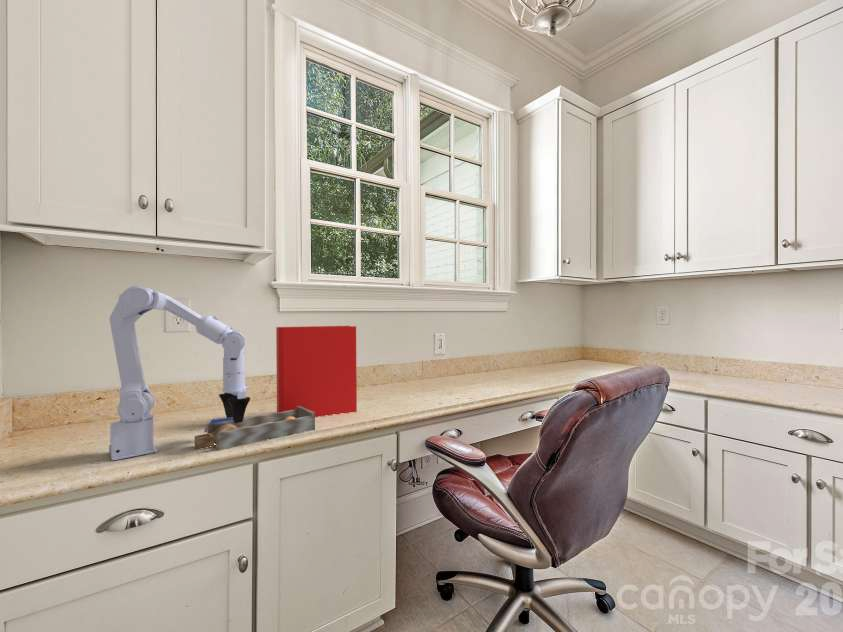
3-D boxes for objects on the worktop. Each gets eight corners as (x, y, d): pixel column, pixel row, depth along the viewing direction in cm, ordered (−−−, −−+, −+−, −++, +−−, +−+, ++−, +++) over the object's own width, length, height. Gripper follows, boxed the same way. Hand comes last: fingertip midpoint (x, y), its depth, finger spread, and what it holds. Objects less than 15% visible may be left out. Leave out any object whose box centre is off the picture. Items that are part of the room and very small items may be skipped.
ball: (296, 415, 124) (300, 426, 125) (291, 413, 127) (295, 423, 128) (285, 421, 121) (289, 433, 122) (280, 419, 124) (284, 430, 125)
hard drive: (211, 419, 133) (206, 429, 122) (237, 416, 136) (235, 426, 125) (211, 423, 133) (206, 434, 122) (237, 421, 136) (235, 431, 125)
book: (350, 407, 153) (349, 325, 153) (356, 411, 146) (356, 326, 146) (276, 416, 141) (275, 327, 140) (279, 421, 133) (278, 327, 133)
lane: (218, 465, 105) (217, 429, 105) (207, 453, 114) (207, 421, 114) (315, 442, 124) (314, 412, 124) (299, 434, 132) (299, 405, 132)
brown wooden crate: (197, 450, 106) (197, 439, 106) (194, 446, 109) (194, 435, 109) (214, 446, 108) (214, 436, 108) (210, 443, 111) (210, 432, 111)
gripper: (256, 374, 111) (257, 422, 111) (240, 368, 121) (241, 412, 122) (229, 376, 106) (230, 427, 106) (216, 371, 117) (216, 416, 117)
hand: (234, 419), depth 113 cm, fingers open, 7 cm apart
